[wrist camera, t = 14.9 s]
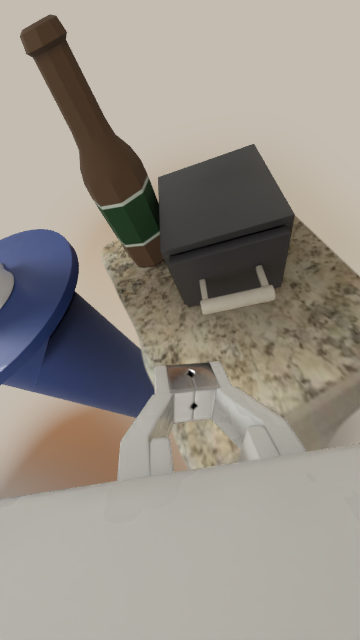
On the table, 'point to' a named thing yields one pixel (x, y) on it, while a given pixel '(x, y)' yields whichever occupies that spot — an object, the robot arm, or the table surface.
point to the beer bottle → (98, 146)
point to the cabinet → (219, 203)
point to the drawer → (233, 271)
